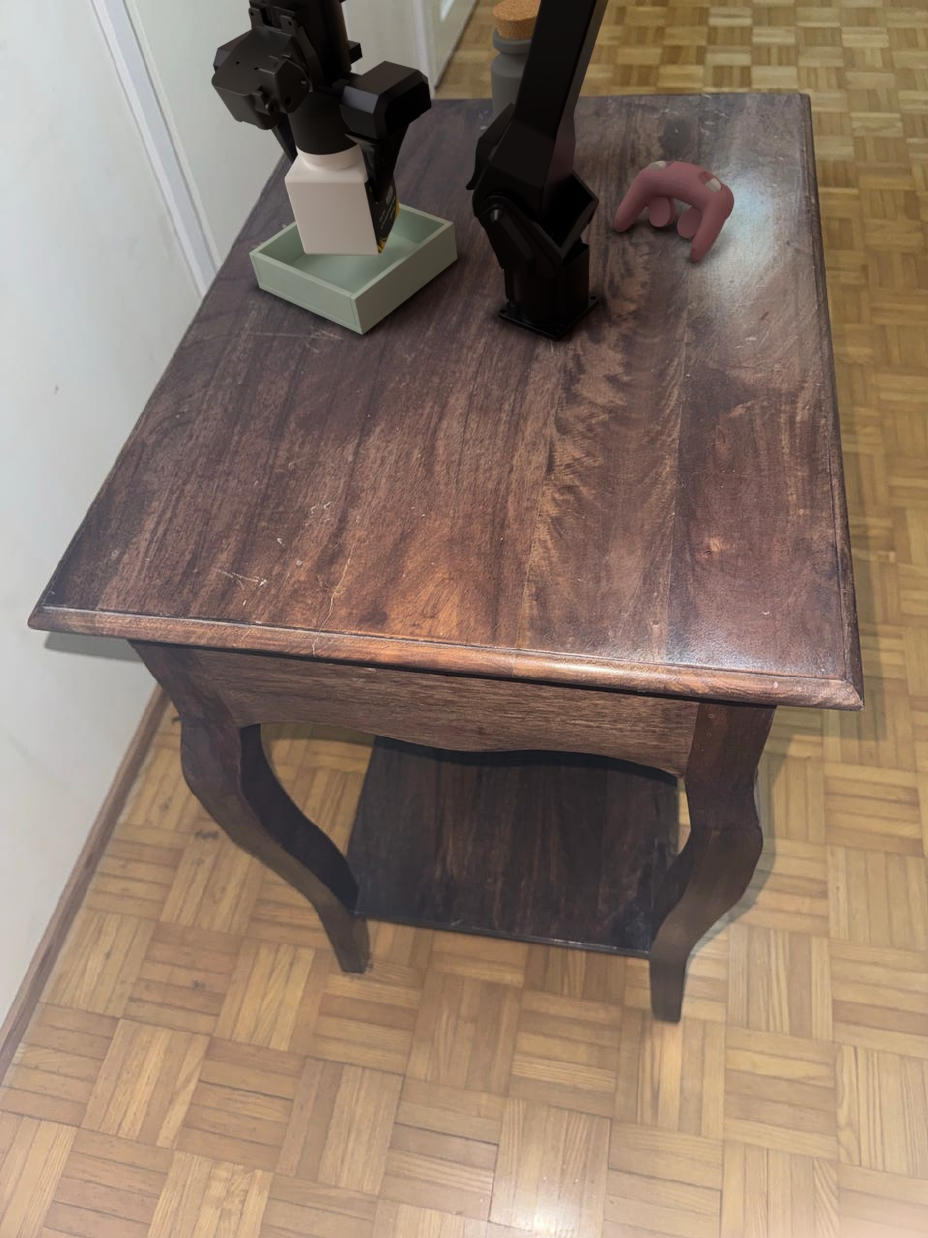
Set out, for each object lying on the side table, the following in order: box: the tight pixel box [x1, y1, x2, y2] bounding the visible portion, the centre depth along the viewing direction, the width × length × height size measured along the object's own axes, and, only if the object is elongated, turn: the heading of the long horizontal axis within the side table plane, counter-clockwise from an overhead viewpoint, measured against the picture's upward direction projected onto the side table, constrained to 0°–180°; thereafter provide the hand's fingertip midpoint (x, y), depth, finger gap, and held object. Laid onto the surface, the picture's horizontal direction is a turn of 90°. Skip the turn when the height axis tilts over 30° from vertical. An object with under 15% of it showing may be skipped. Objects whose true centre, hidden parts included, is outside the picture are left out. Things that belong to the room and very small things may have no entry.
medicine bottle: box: [284, 92, 400, 256], centre depth 76 cm, size 7×7×12 cm
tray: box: [248, 202, 458, 336], centre depth 83 cm, size 13×13×4 cm
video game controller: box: [613, 160, 735, 263], centre depth 81 cm, size 10×5×7 cm, turn 47°
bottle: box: [490, 0, 541, 120], centre depth 86 cm, size 6×6×15 cm
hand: (341, 185), depth 77 cm, fingers closed on medicine bottle, 9 cm apart
